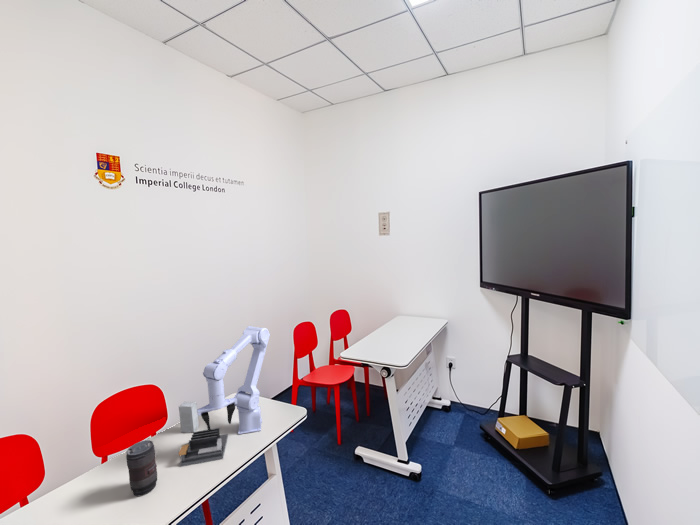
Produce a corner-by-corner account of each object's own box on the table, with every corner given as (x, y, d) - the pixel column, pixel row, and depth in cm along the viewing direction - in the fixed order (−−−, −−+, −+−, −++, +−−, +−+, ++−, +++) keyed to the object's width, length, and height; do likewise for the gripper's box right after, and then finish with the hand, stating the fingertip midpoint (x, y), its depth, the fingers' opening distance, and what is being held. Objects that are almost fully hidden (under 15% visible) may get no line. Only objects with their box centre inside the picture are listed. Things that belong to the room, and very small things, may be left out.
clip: (222, 448, 129) (221, 438, 129) (221, 452, 127) (220, 442, 126) (199, 452, 127) (198, 442, 127) (198, 456, 125) (197, 445, 124)
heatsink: (227, 436, 139) (227, 425, 138) (222, 458, 125) (221, 447, 125) (188, 443, 136) (187, 432, 135) (179, 466, 122) (178, 454, 121)
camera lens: (154, 475, 118) (150, 436, 116) (161, 487, 112) (157, 446, 111) (128, 488, 112) (123, 447, 111) (133, 502, 107) (128, 458, 105)
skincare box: (199, 427, 147) (197, 401, 145) (194, 432, 142) (191, 406, 141) (186, 426, 147) (184, 401, 146) (180, 432, 143) (178, 406, 142)
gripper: (232, 384, 136) (235, 415, 138) (194, 395, 128) (197, 428, 130) (237, 390, 130) (240, 423, 132) (197, 402, 122) (200, 437, 124)
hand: (219, 426), depth 130 cm, fingers open, 7 cm apart
